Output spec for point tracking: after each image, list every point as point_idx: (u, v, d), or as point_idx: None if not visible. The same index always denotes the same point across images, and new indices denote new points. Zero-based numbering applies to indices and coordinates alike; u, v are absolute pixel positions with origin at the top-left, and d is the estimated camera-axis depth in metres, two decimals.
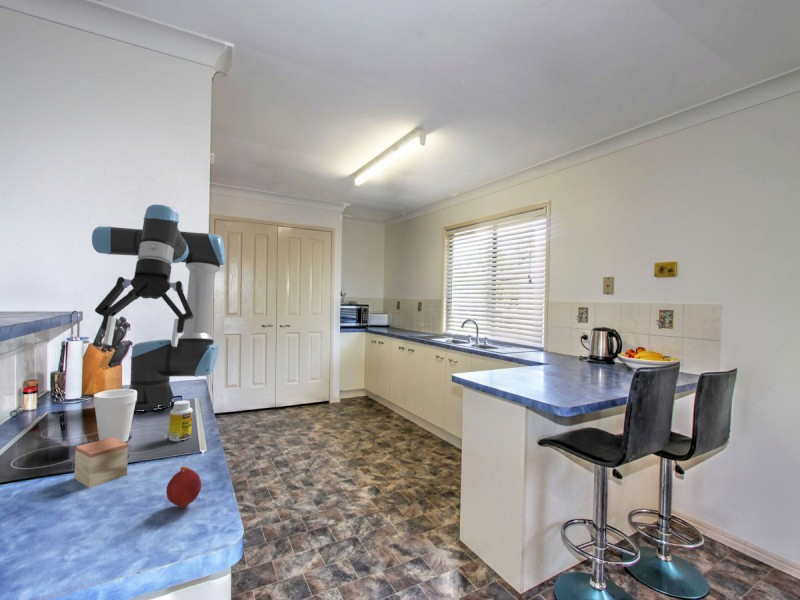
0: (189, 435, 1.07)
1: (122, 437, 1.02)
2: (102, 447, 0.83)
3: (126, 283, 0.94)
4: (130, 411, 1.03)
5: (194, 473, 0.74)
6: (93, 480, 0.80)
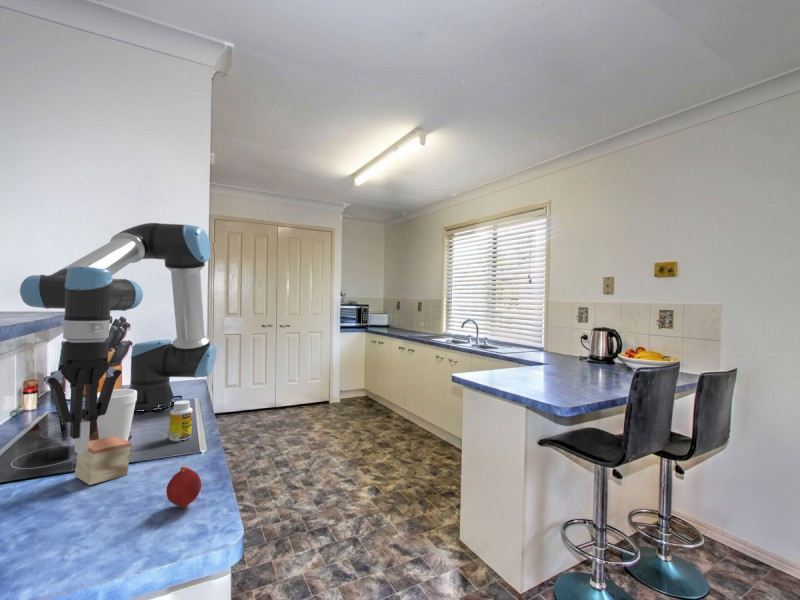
0: (189, 435, 1.07)
1: (122, 437, 1.02)
2: (105, 444, 0.83)
3: (59, 378, 0.77)
4: (130, 411, 1.03)
5: (194, 473, 0.74)
6: (94, 477, 0.80)
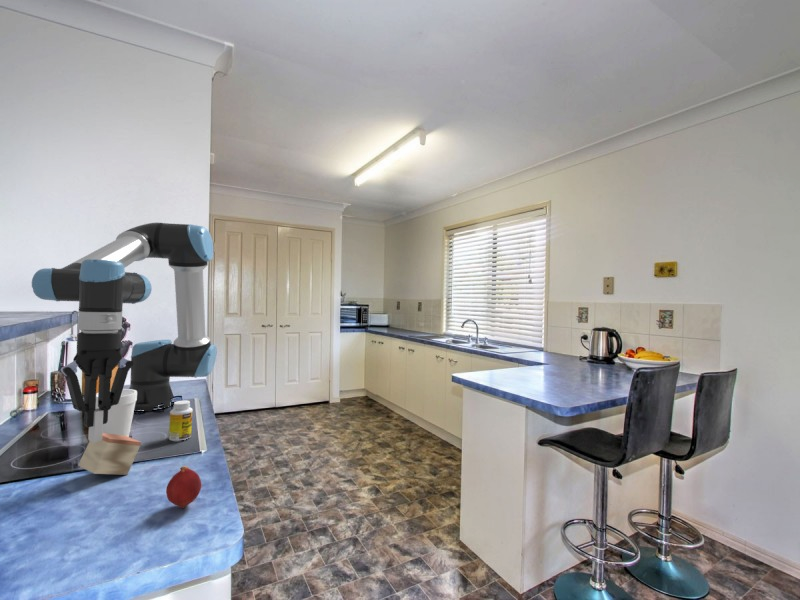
0: (189, 435, 1.07)
1: None
2: (118, 438, 0.85)
3: (74, 368, 0.79)
4: (130, 411, 1.03)
5: (194, 473, 0.74)
6: (100, 467, 0.80)
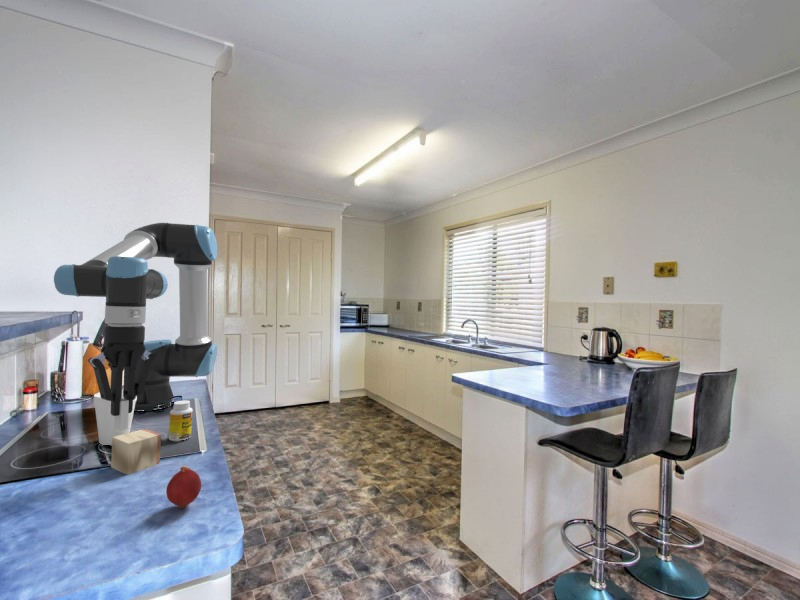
0: (189, 435, 1.07)
1: None
2: None
3: (102, 359, 0.83)
4: None
5: (194, 473, 0.74)
6: (134, 445, 0.86)
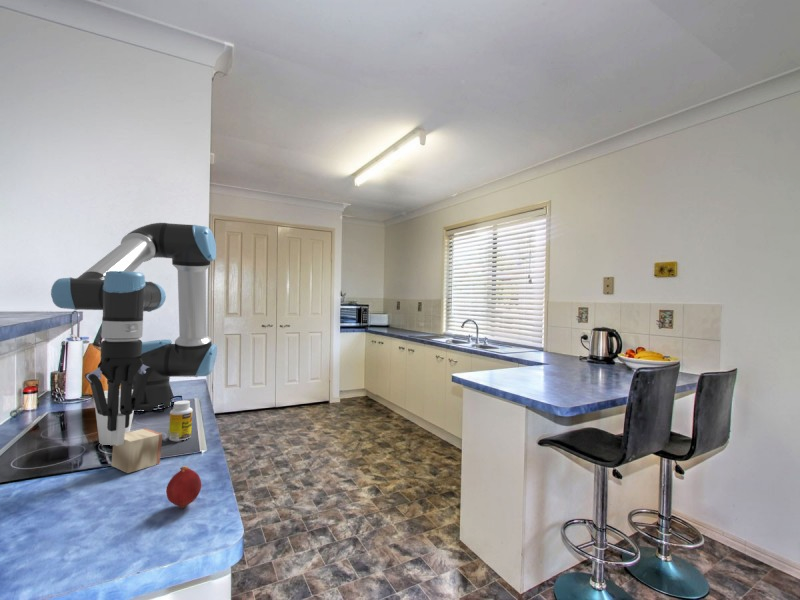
0: (189, 435, 1.07)
1: None
2: None
3: (99, 375, 0.82)
4: None
5: (194, 473, 0.74)
6: (136, 443, 0.86)
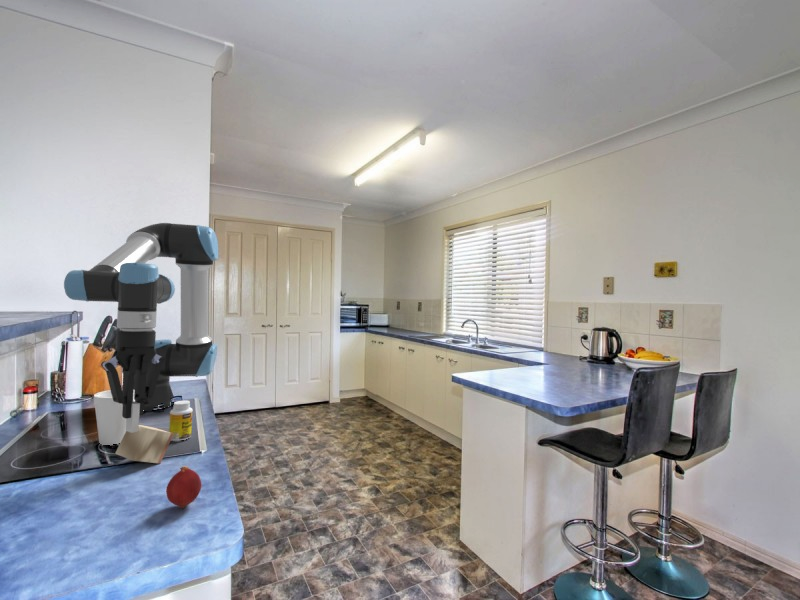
0: (189, 435, 1.07)
1: (122, 437, 1.02)
2: None
3: (114, 363, 0.85)
4: None
5: (194, 473, 0.74)
6: (151, 432, 0.89)
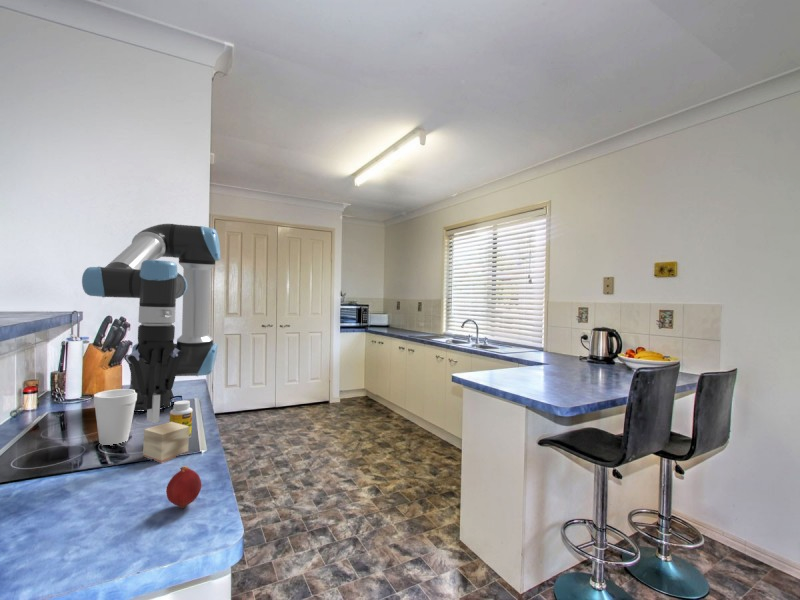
0: (189, 435, 1.07)
1: (122, 437, 1.02)
2: None
3: (137, 356, 0.89)
4: (130, 411, 1.03)
5: (194, 473, 0.74)
6: (186, 432, 0.97)
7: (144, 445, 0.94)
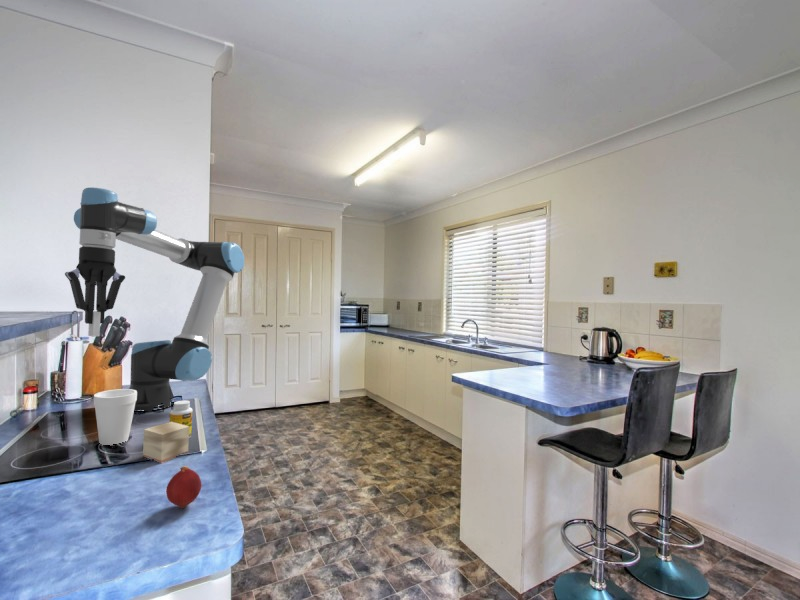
0: (189, 435, 1.07)
1: (122, 437, 1.02)
2: None
3: (77, 274, 0.98)
4: (130, 411, 1.03)
5: (194, 473, 0.74)
6: (186, 432, 0.97)
7: (144, 446, 0.94)
